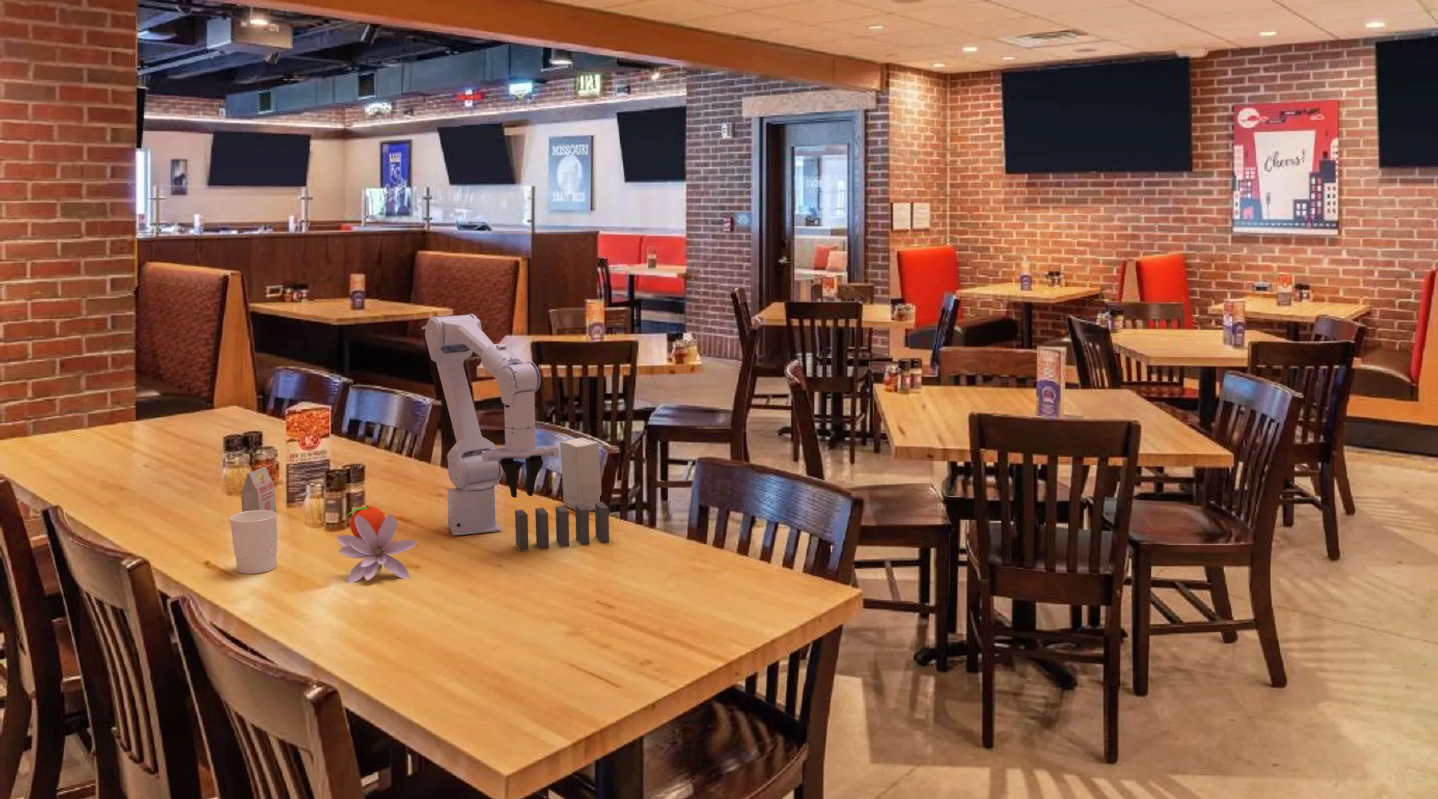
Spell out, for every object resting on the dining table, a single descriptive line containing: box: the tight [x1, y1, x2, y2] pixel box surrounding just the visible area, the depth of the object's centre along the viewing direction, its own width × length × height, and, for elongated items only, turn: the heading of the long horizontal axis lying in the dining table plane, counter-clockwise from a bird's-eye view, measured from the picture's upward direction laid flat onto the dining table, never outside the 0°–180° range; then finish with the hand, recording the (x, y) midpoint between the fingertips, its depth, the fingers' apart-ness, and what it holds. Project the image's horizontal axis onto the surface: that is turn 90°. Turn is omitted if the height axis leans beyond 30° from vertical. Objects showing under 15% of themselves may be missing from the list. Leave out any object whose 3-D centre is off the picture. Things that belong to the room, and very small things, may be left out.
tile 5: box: [594, 501, 610, 544], centre depth 232 cm, size 2×4×7 cm, turn 20°
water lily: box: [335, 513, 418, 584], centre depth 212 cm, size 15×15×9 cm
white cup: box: [229, 510, 278, 575], centre depth 214 cm, size 8×8×10 cm
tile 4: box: [574, 504, 590, 546], centre depth 231 cm, size 2×4×7 cm, turn 20°
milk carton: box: [240, 466, 277, 513], centre depth 249 cm, size 4×7×10 cm, turn 170°
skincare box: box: [559, 437, 603, 512], centre depth 256 cm, size 8×6×15 cm
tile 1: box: [514, 509, 530, 552], centre depth 227 cm, size 2×4×7 cm, turn 20°
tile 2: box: [534, 507, 550, 550], centre depth 228 cm, size 2×4×7 cm, turn 20°
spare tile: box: [555, 505, 570, 548], centre depth 230 cm, size 2×4×7 cm, turn 20°
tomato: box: [344, 505, 386, 540], centre depth 231 cm, size 8×7×7 cm
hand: (521, 495), depth 226 cm, fingers open, 2 cm apart
